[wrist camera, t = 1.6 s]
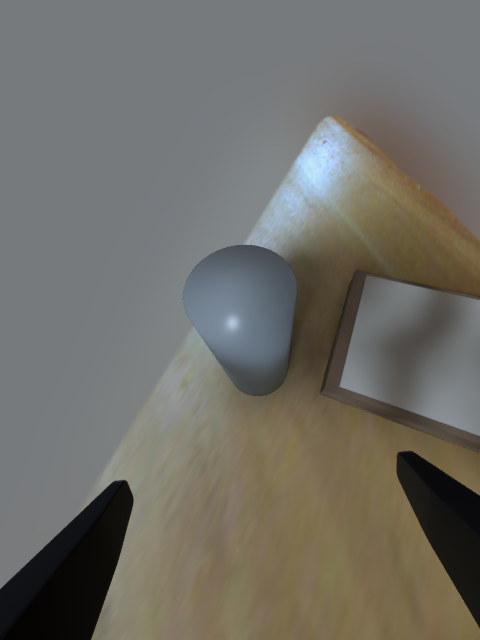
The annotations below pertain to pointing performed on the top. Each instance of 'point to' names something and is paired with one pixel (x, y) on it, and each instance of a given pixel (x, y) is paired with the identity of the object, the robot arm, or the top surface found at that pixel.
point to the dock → (409, 356)
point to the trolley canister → (244, 314)
